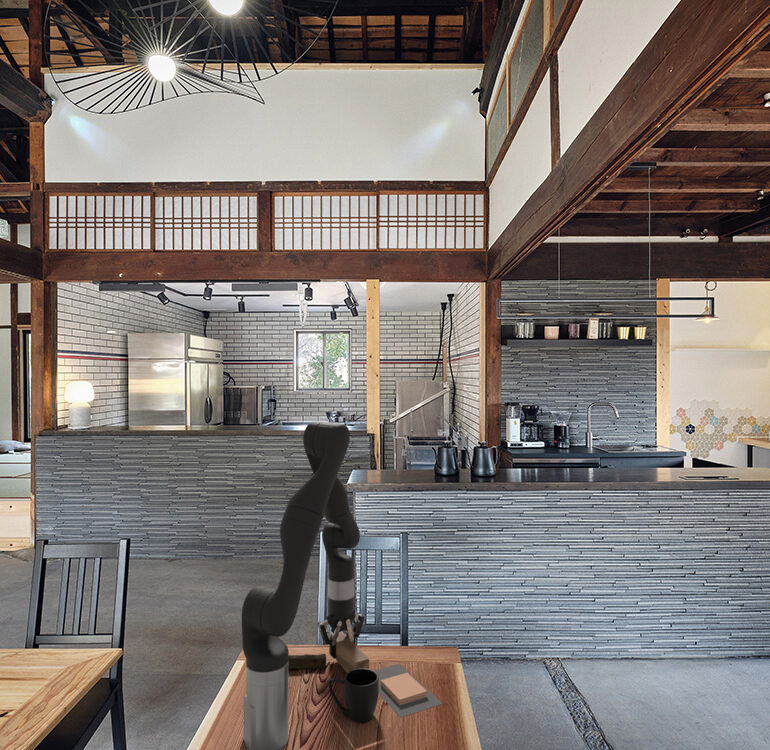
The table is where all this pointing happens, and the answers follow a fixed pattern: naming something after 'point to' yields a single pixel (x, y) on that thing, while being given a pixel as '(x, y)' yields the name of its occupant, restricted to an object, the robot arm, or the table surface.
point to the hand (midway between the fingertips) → (341, 654)
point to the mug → (358, 694)
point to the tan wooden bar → (349, 654)
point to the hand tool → (307, 661)
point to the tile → (403, 689)
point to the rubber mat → (410, 707)
